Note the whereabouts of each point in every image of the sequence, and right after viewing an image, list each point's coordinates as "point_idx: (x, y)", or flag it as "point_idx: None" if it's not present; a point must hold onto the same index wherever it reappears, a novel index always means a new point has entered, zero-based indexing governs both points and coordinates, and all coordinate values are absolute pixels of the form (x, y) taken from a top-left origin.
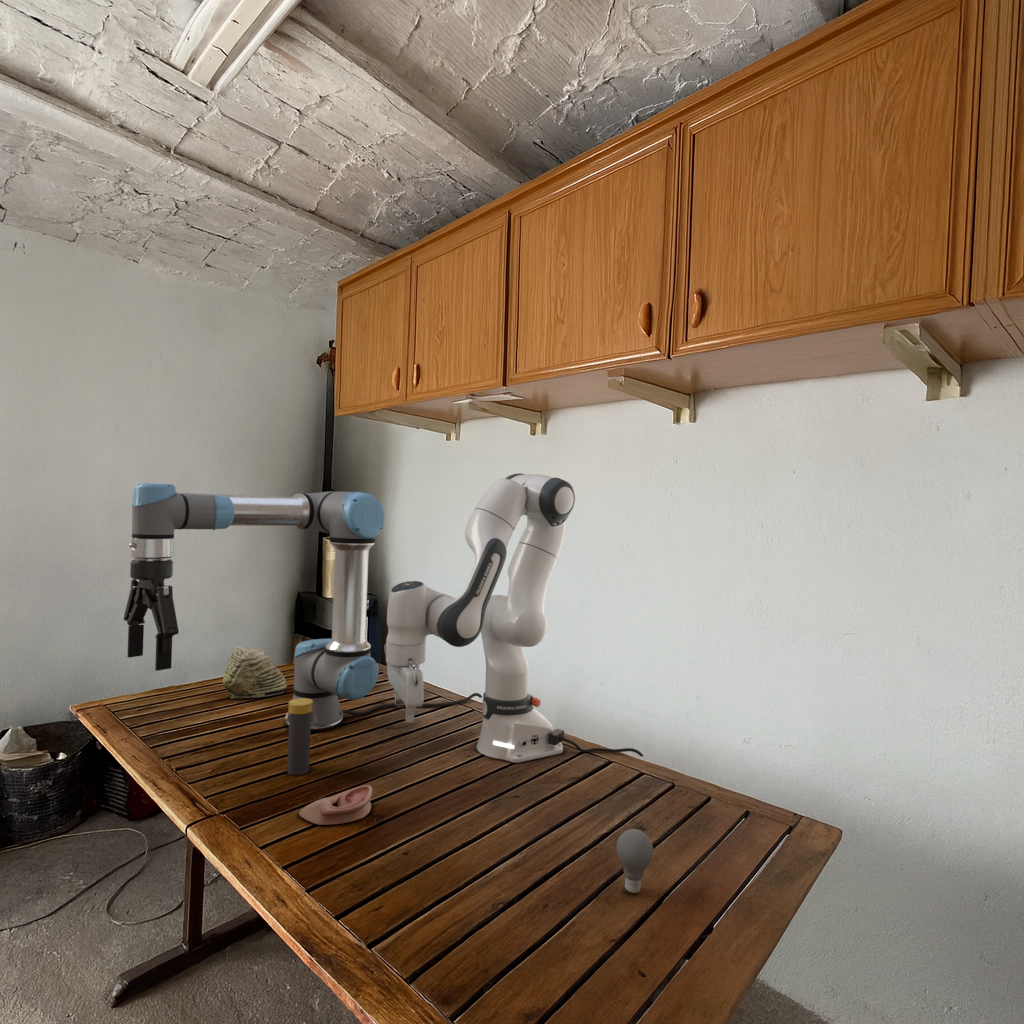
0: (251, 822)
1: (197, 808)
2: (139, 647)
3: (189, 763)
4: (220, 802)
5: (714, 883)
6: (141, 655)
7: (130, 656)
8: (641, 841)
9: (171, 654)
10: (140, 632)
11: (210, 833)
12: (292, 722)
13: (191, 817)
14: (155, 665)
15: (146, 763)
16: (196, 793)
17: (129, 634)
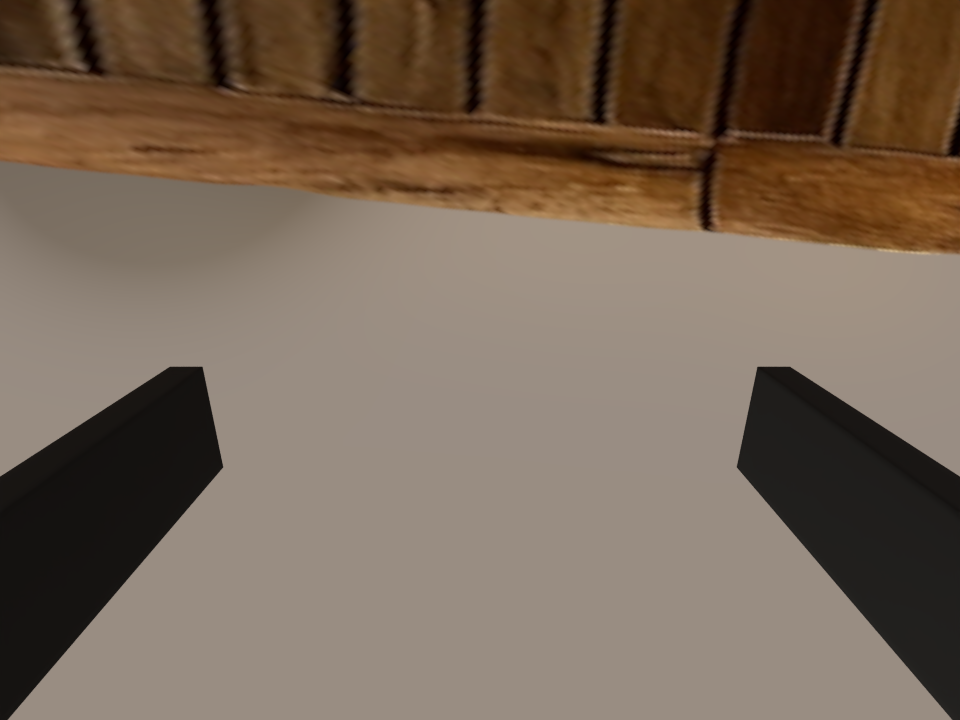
0: (832, 101)
1: (641, 170)
2: (164, 432)
3: (319, 33)
4: (660, 104)
5: None
6: (203, 378)
7: (218, 461)
8: None
9: (878, 426)
10: (38, 534)
11: (786, 209)
12: None
13: (674, 205)
14: (759, 489)
15: (234, 143)
16: (553, 128)
17: (75, 630)
